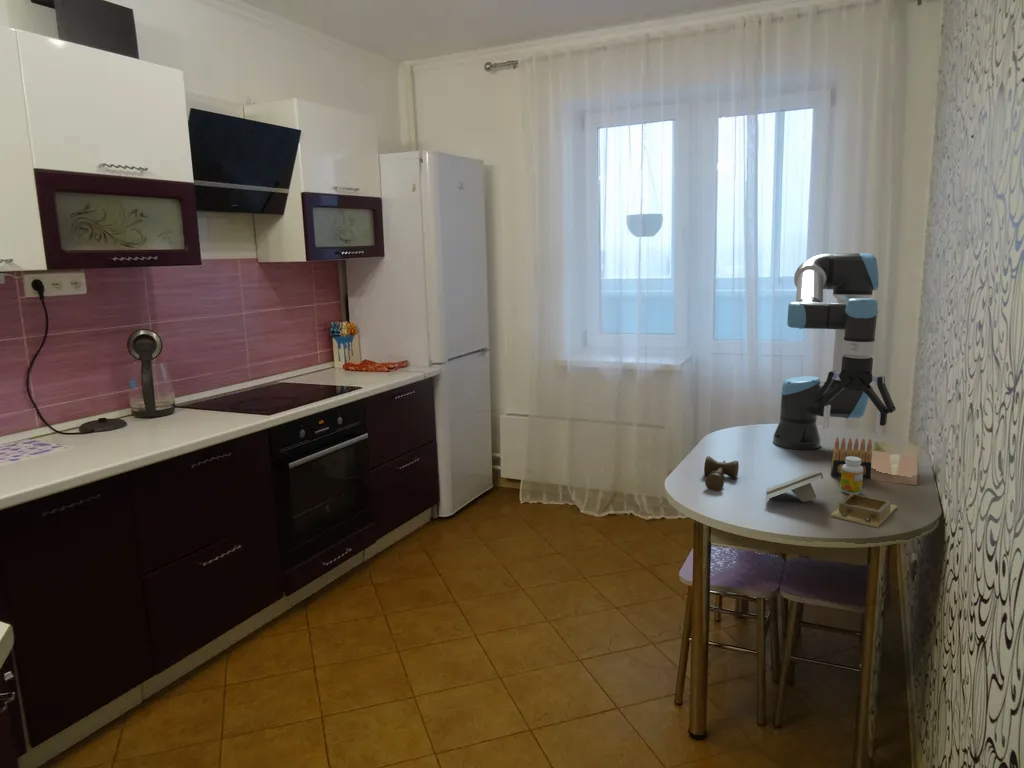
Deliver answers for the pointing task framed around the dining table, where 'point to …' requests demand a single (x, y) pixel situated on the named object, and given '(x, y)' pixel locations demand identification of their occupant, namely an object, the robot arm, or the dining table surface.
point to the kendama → (718, 472)
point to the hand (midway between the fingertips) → (851, 432)
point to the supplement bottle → (851, 475)
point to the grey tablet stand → (797, 487)
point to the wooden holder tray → (864, 510)
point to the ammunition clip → (840, 459)
